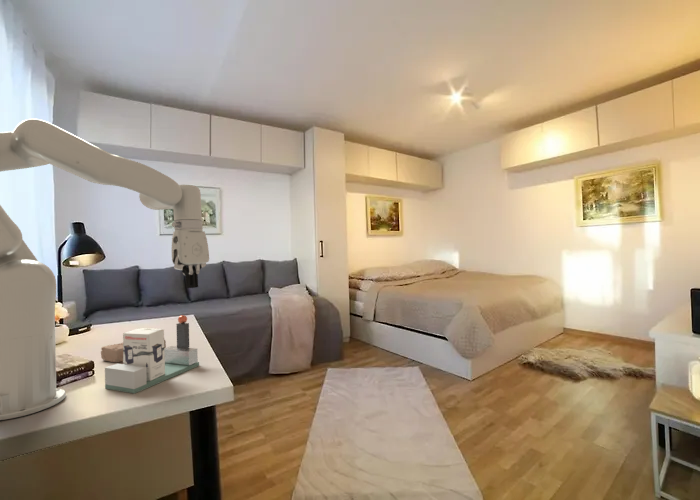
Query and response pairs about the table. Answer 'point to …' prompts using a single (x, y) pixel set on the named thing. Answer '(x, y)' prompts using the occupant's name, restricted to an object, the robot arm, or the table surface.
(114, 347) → the brick
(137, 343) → the ink box
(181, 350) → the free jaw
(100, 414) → the table surface
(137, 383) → the vise
